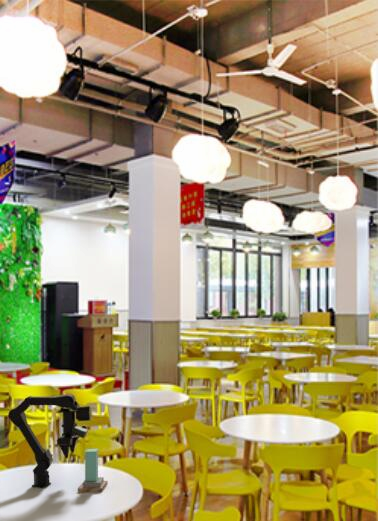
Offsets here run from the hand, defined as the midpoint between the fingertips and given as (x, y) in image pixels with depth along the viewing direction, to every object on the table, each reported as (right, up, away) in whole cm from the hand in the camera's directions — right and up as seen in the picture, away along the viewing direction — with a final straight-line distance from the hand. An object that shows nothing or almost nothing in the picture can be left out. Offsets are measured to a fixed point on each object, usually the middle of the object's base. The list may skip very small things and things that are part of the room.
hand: (69, 455), depth 272 cm
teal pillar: (+12, -8, -8) cm, 17 cm away
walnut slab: (+12, -13, -9) cm, 20 cm away
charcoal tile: (+13, -10, -9) cm, 18 cm away
